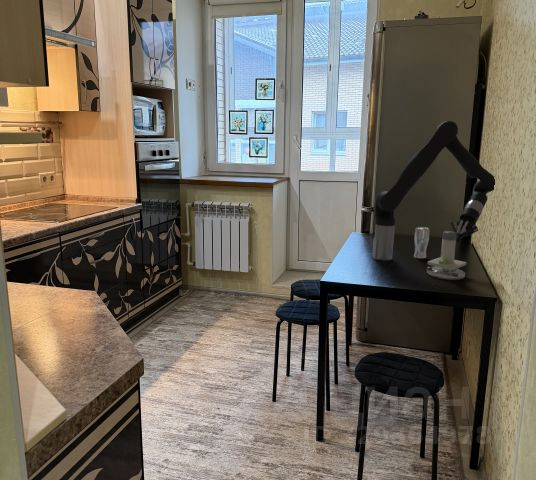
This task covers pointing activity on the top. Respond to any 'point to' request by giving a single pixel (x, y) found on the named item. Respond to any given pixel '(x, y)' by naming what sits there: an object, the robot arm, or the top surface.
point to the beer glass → (421, 242)
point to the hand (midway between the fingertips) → (456, 241)
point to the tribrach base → (446, 273)
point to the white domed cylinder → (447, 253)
